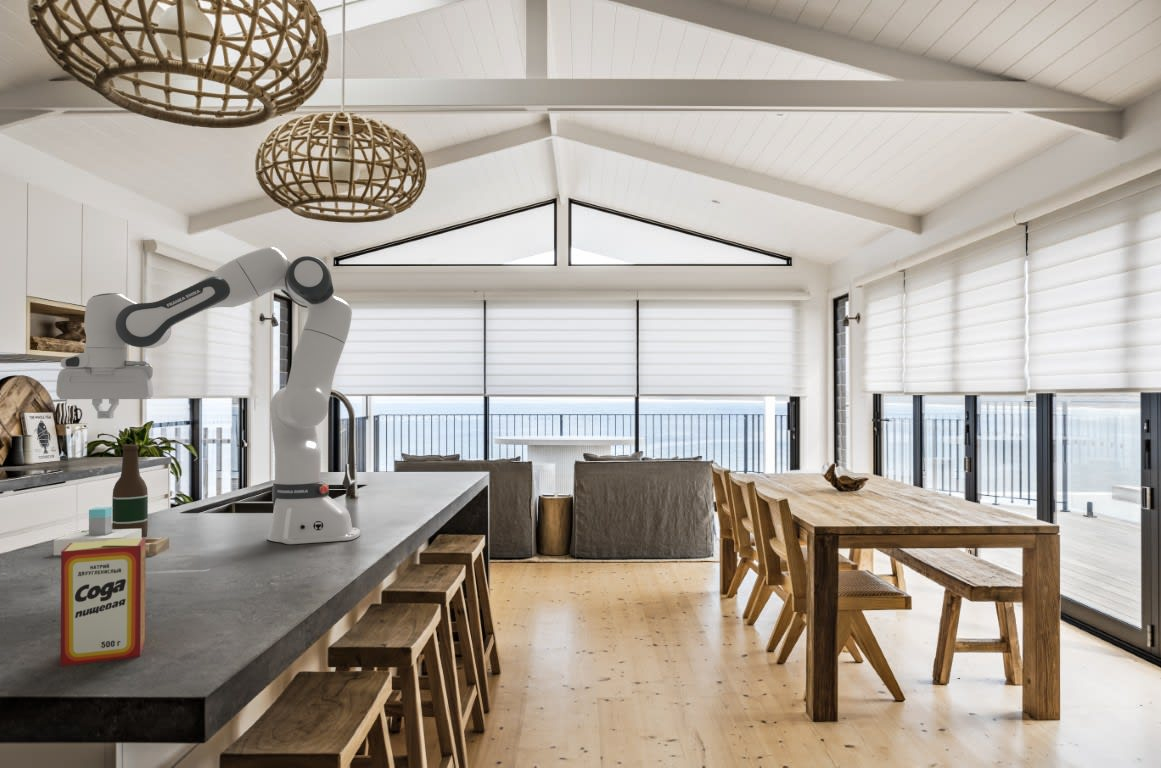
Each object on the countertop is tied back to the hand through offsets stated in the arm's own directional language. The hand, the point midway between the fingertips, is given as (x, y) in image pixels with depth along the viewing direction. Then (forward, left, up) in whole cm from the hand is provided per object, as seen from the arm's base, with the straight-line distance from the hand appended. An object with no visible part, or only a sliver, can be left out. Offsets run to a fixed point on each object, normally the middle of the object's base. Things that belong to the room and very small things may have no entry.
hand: (105, 418), depth 184 cm
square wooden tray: (-12, +9, -31) cm, 35 cm away
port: (0, +3, -31) cm, 31 cm away
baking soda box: (-33, +81, -31) cm, 93 cm away
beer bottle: (-1, -12, -31) cm, 34 cm away
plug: (0, +3, -30) cm, 30 cm away
